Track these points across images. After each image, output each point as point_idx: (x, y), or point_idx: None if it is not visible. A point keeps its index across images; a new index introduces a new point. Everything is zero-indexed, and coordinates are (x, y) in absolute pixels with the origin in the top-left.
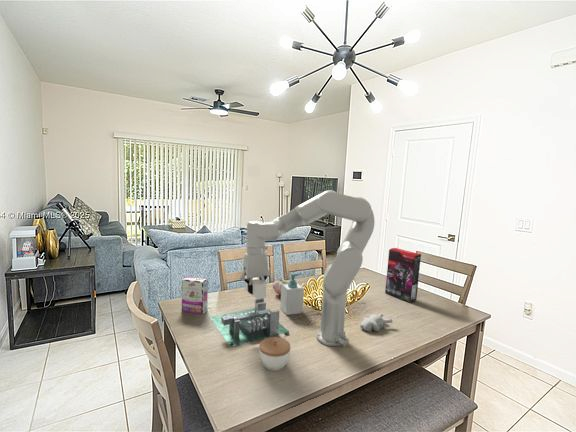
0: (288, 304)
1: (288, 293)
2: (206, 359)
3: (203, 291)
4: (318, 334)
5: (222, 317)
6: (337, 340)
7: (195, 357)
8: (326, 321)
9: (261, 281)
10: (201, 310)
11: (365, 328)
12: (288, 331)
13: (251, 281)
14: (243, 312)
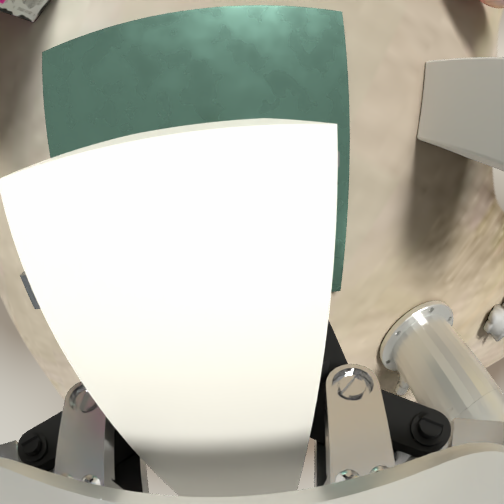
0: (456, 150)
1: (500, 164)
2: (41, 322)
3: None
4: (401, 329)
5: (24, 285)
6: (401, 379)
7: (16, 303)
8: (416, 396)
9: (283, 481)
10: (17, 15)
11: (486, 329)
12: (338, 289)
13: (136, 478)
14: (218, 28)
